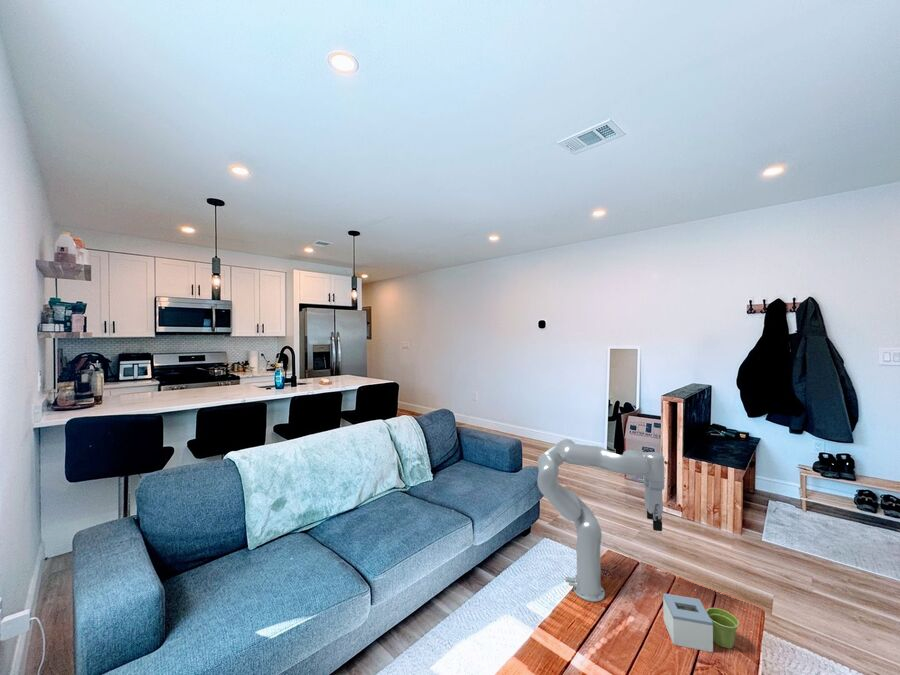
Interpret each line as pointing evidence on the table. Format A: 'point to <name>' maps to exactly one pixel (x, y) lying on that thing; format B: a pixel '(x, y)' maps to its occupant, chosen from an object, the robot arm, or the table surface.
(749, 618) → the table surface
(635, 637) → the table surface
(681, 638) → the grey slotted box
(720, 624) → the plant pot
